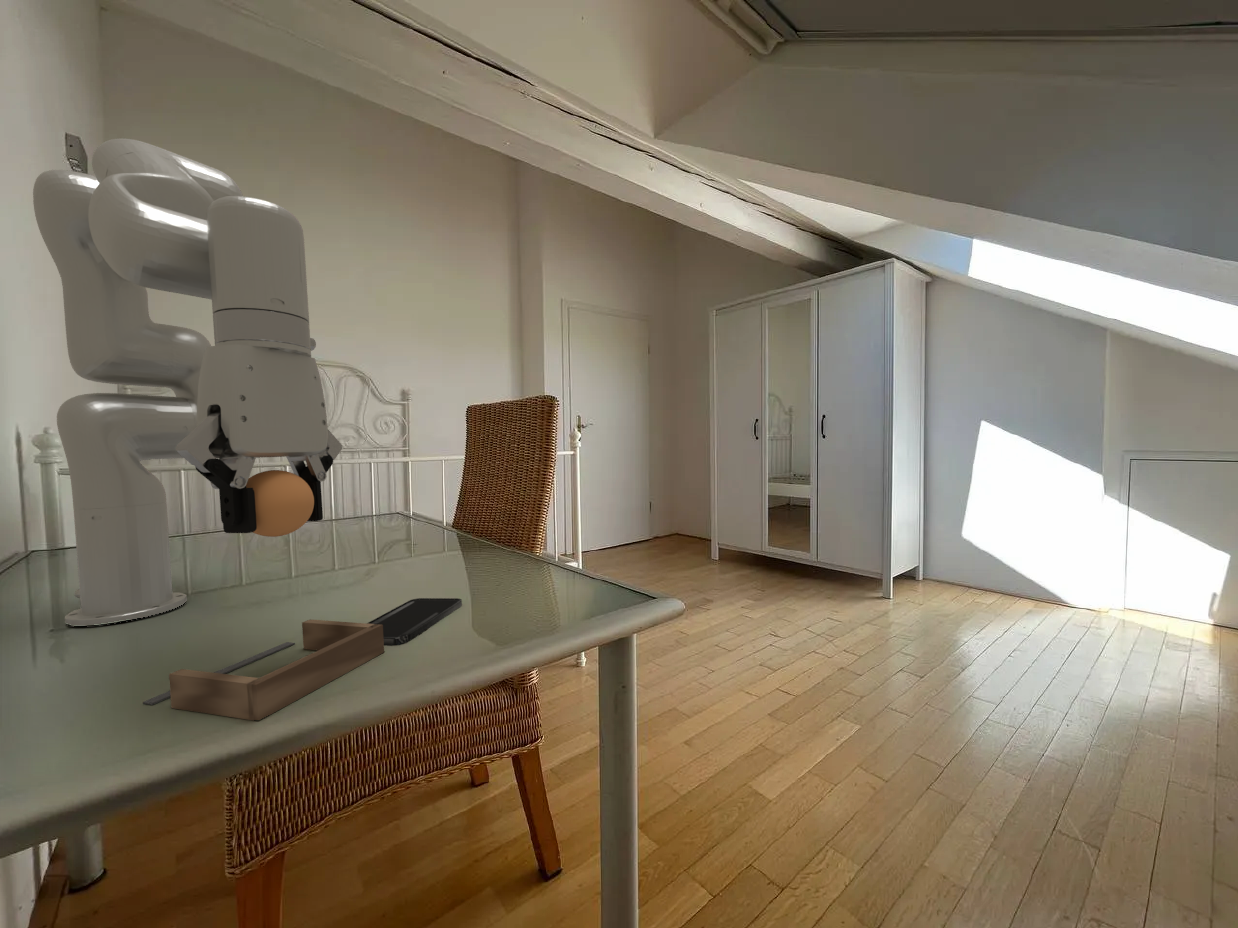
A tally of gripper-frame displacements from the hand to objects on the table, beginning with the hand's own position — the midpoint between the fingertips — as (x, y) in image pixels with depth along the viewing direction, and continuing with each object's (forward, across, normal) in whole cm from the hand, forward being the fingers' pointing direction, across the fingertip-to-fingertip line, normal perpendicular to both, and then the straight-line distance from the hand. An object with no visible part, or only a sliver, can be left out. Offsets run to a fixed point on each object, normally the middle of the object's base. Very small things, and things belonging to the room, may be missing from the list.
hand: (276, 524), depth 49 cm
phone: (+16, -16, +1) cm, 22 cm away
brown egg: (-2, 0, 0) cm, 2 cm away
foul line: (+15, 0, -8) cm, 17 cm away
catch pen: (+15, 0, 0) cm, 15 cm away
